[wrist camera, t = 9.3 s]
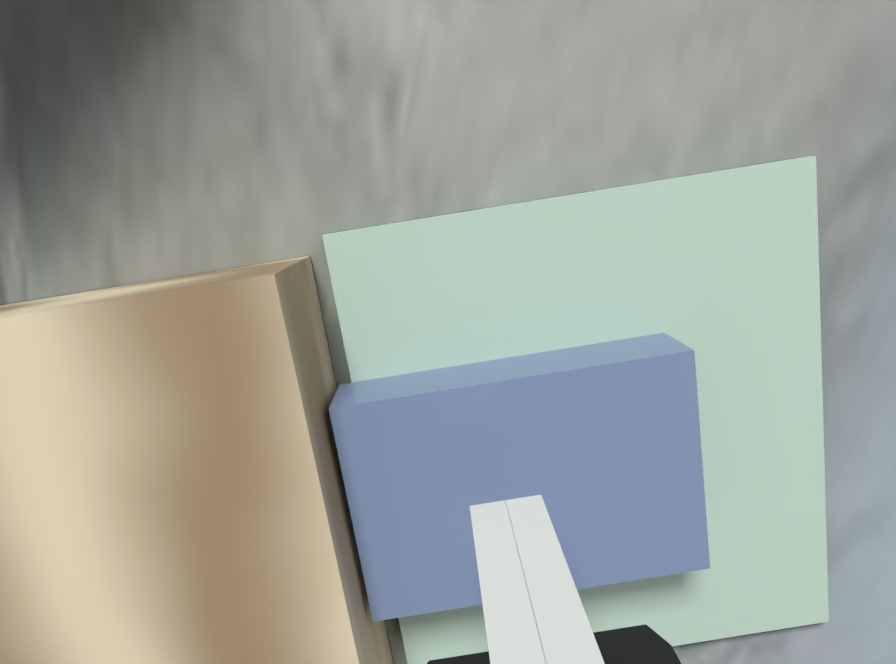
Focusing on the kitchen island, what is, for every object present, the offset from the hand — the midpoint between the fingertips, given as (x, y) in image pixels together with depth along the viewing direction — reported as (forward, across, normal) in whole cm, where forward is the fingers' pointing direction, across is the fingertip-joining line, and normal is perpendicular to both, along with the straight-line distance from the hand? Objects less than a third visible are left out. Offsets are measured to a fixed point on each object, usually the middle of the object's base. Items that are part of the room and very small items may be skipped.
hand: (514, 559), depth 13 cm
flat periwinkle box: (+5, +1, 0) cm, 5 cm away
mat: (+5, +3, 0) cm, 6 cm away
